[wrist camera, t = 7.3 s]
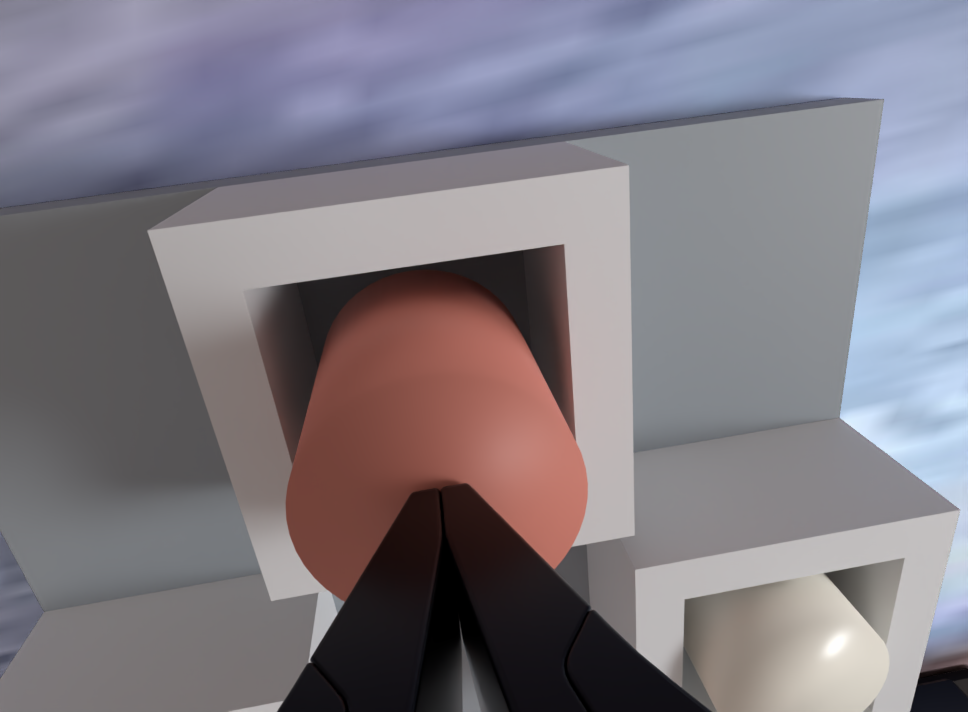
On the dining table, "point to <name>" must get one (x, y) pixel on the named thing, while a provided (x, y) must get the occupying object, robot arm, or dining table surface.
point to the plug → (784, 648)
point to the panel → (552, 341)
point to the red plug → (427, 425)
